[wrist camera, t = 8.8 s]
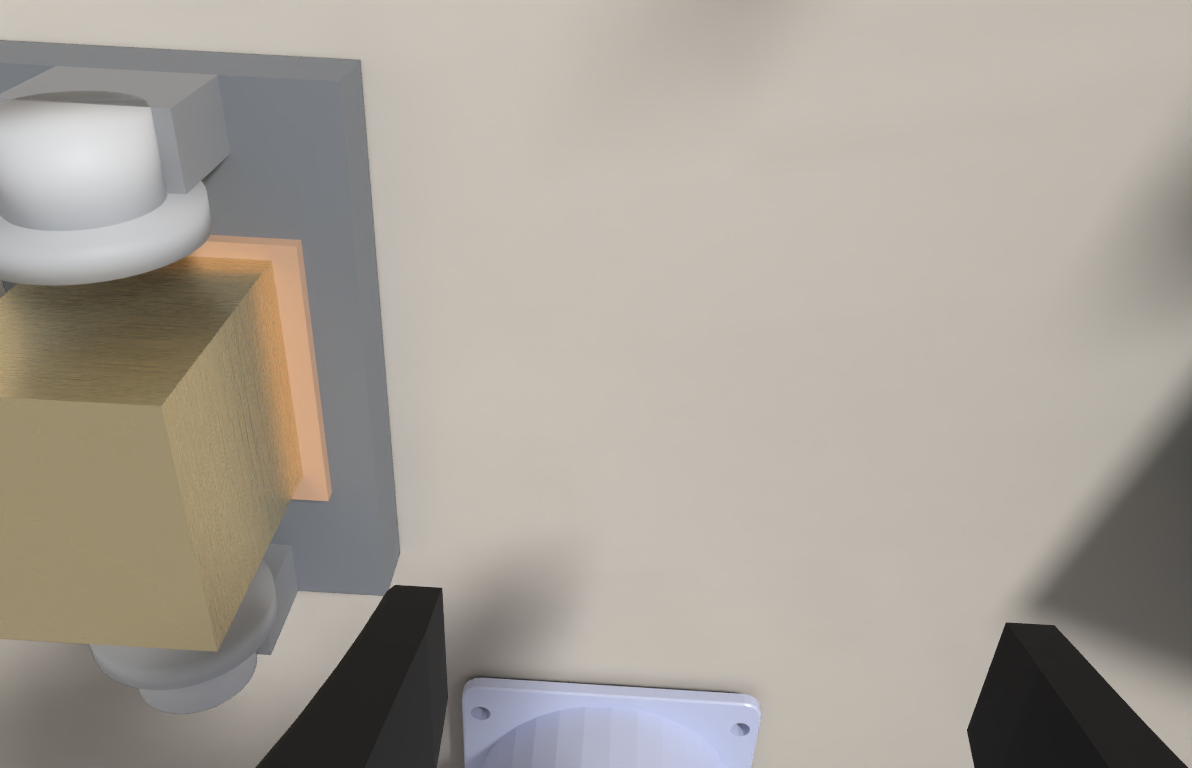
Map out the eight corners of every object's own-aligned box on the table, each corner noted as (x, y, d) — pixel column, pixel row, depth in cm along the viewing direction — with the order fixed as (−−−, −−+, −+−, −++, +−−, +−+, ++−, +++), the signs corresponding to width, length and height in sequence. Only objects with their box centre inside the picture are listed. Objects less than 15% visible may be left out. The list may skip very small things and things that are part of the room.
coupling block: (303, 474, 21) (217, 651, 17) (117, 464, 21) (-15, 638, 17) (271, 260, 18) (161, 406, 14) (59, 248, 19) (-114, 390, 14)
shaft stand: (399, 553, 25) (338, 749, 20) (120, 536, 25) (-11, 727, 20) (360, 59, 18) (256, 166, 13) (-16, 39, 18) (-258, 137, 13)
